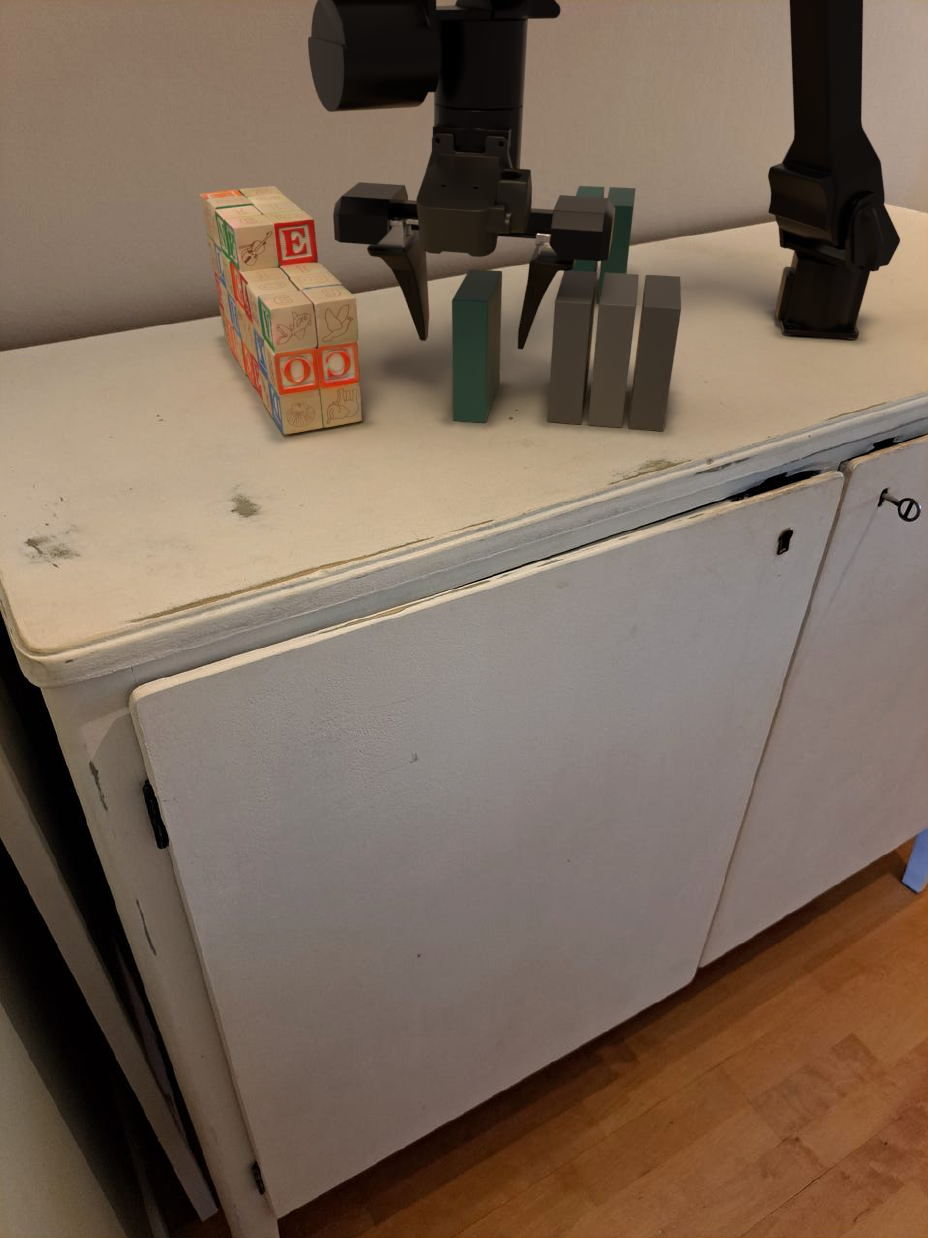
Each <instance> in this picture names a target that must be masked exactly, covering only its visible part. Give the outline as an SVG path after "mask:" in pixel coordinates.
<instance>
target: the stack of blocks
mask: <svg viewBox="0 0 928 1238" xmlns="http://www.w3.org/2000/svg"><path fill="white" fill-rule="evenodd" d="M199 199H200V203H201V204H200V205H201V209H202V215H203V219H204V225H205V230H206V237H207V243H208V244H207V245H208V249H209V250H208V251H209V254H210V255H209V256H210V262H211V267H212V269H213V272H214V278H215V284H216V289H217V295H218V301H219V312H220V317H221V323H222V328H223V332H224V338H225V340H226V342H227V344H228V346H229V347H230V350H231V353H232V354H233V356H234V357H235V360H236V362H238V364H239V366H240V368H241V369H242V371H243V373H244V374H245V375H247V376H248V379H249V380H250V382H251V383H252V385H253V387H254V388H256V390H257V392H258V394H259V395H260V397H261V399H262V402H263V404H264V407H265V408H266V409H267V412H268V413H269V415H270V417H272V419H273V420H274V422H275V424H276V426H277V427H278V429H279V430H280V433H281V434H282V435H283V436H284V435H291V434H296V433H302V432H307V431H315V430H319V429H323V428H324V429H325V428H331V427H336V426H342V425H347V424H352V423H358V422H362V421H363V411H362V409H363V408H362V397H361V386H360V383H361V374H360V373H361V372H360V360H359V347H358V340H359V324H358V323H359V322H358V310H357V298H356V296H355V295H354V294H353V293H352V292H350V291H349V290H348V289H347V288H346V287H345V286H344V285H343V283H342V282H341V281H340V280H339V279H338V278H337V277H335V276H334V275H333V274H332V273H331V272H330V271H329V270H328V269H327V268H326V267H325V266H324V265H323V264H321V263H319V255H318V247H317V236H316V226H315V219H314V218H313V217H312V216H311V215H309V214H308V213H307V212H306V211H304V210H303V209H301V208H300V207H299V206H298V205H296V204H295V203H294V202H293V201H292V200H291V199H289V198H288V197H287V196H286V195H284V193H283V192H282V191H281V190H280V189H279V188H277V187H276V186H275V185H268V186H258V187H246V188H239V189H229V190H228V189H227V190H219V191H212V192H211V191H209V192H202V193H199Z"/></svg>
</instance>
